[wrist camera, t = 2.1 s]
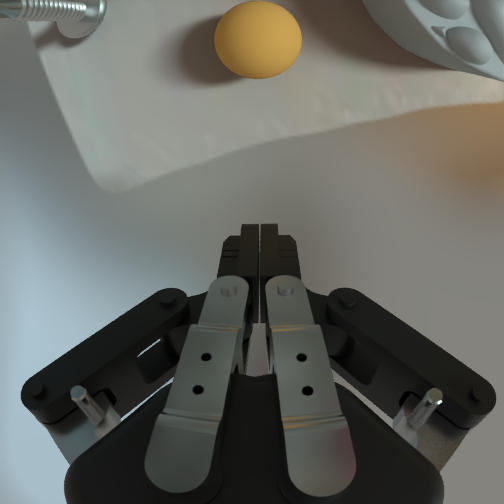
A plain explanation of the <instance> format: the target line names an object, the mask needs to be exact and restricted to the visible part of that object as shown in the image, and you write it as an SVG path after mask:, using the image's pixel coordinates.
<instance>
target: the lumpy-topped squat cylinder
mask: <svg viewBox="0 0 504 504" xmlns="http://www.w3.org/2000/svg"><path fill="white" fill-rule="evenodd" d="M362 2H363V4H364V6H365V8H366V10H367V11H368V13H369V15H370V16H371V18H372V19H373V20H374V21H375V22H376V24H377V25H378V26H379V27H380V28H381V29H382V30H383V31H384V32H385V33H386V34H387V35H388V36H389V37H390V38H391V39H392V40H393V41H394V42H395V43H396V44H397V45H399V46H400V47H401V48H403V49H405V50H407V51H409V52H411V53H413V54H415V55H417V56H419V57H421V58H423V59H426V60H428V61H430V62H433V63H435V64H438V65H441V66H444V67H447V68H450V69H453V70H457V71H462V72H467V73H471V74H475V75H479V76H484V77H487V78H492V79H496V80H499V81H503V82H504V0H362Z"/></svg>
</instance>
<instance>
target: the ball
mask: <svg viewBox="0 0 504 504" xmlns="http://www.w3.org/2000/svg"><path fill="white" fill-rule="evenodd" d="M214 45H215V49H216V52H217V55H218V57H219V58H220V60H221V61H222V63H223V64H224V65H225V66H226V67H227V68H228V69H230V70H231V71H232V72H234V73H236V74H238V75H240V76H243V77H246V78H252V79H265V78H270V77H273V76H276V75H278V74H281V73H282V72H284V71H285V70H287V69H288V68H289V67H290V66H291V65H292V64H293V63H294V62H295V60H296V59H297V57H298V55H299V52H300V50H301V45H302V36H301V31H300V28H299V25H298V23H297V22H296V20H295V19H294V17H293V16H292V15H291V14H290V13H289V12H288V11H287V10H285V9H284V8H282V7H281V6H279V5H276V4H274V3H271V2H266V1H249V2H245V3H242V4H239V5H237V6H235V7H233V8H232V9H230V10H229V11H228V12H226V13H225V14H224V16H223V17H222V18H221V19H220V21H219V23H218V25H217V27H216V30H215V35H214Z"/></svg>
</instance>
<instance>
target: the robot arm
mask: <svg viewBox="0 0 504 504" xmlns="http://www.w3.org/2000/svg"><path fill="white" fill-rule="evenodd" d="M260 235H261V236H260V252H259V224H242V227H241V235H240V236H229V237H228V238H227V239H226V240H225V241H224V242H223V248H222V253H221V258H220V264H219V269H218V274H217V279H216V280H214V281H213V282H212V283H211V284H210V287H209V289H208V291H207V292H205V293H202V294H199V295H195V296H191V297H187V295H186V293H185V292H184V291H182V290H180V289H177V288H166V289H162V290H160V291H158V292H156V293H154V294H153V295H151V296H150V297H148V298H147V299H145V300H144V301H142V302H141V303H139V304H138V305H136V306H135V307H133V308H132V309H130V310H129V311H127V312H126V313H124V314H123V315H121V316H120V317H118V318H117V319H116V320H114V321H112V322H111V323H110V324H108V325H106V326H105V327H103V328H102V329H101V330H99V331H98V332H96V333H95V334H93V335H92V336H90V337H89V338H87V339H86V340H84V341H83V342H81V343H80V344H79V345H77V346H75V347H74V348H73V349H71V350H70V351H68V352H67V353H65V354H64V355H62V356H61V357H59V358H58V359H57V360H55V361H54V362H52V363H51V364H49V365H48V366H47V367H45V368H43V369H42V370H41V371H39V372H38V373H36V374H35V375H33V376H32V377H30V378H29V379H28V380H27V381H26V382H25V384H24V385H23V387H22V390H21V400H22V403H23V404H24V406H25V407H26V408H27V409H28V410H29V411H30V412H31V413H32V414H33V415H34V416H35V417H36V419H37V420H38V421H39V422H40V423H41V424H42V425H43V426H44V427H45V428H46V429H47V430H48V431H49V433H50V435H51V436H52V438H53V439H54V441H55V443H56V444H57V446H58V448H59V449H60V451H61V452H62V454H63V455H64V457H65V459H66V460H67V462H68V463H69V464H70V467H69V469H68V471H67V473H66V476H65V481H64V493H65V498H66V502H67V504H443V499H444V484H443V480H442V477H441V475H440V473H439V472H440V471H441V470H442V468H443V467H444V466H445V464H446V463H447V462H448V460H449V459H450V458H451V456H452V455H453V453H454V452H455V451H456V449H457V448H458V446H459V445H460V443H461V442H462V440H463V439H464V437H465V436H466V435H467V434H468V433H469V432H470V431H471V430H472V429H473V428H474V427H476V426H477V425H478V424H479V423H480V422H481V421H482V419H484V418H485V417H486V416H487V415H488V414H489V413H490V412H491V411H492V409H493V408H494V406H495V403H496V393H495V390H494V388H493V387H492V385H491V384H490V383H489V382H488V381H487V380H485V379H484V378H483V377H481V376H480V375H479V374H477V373H476V372H474V371H473V370H471V369H470V368H469V367H467V366H466V365H465V364H463V363H462V362H460V361H459V360H458V359H456V358H455V357H453V356H452V355H450V354H449V353H448V352H446V351H445V350H443V349H442V348H441V347H439V346H438V345H436V344H435V343H433V342H432V341H431V340H429V339H428V338H426V337H425V336H423V335H422V334H421V333H419V332H418V331H416V330H415V329H413V328H412V327H410V326H409V325H407V324H406V323H405V322H403V321H402V320H400V319H399V318H397V317H396V316H394V315H393V314H392V313H390V312H389V311H387V310H386V309H384V308H383V307H381V306H380V305H378V304H377V303H375V302H374V301H372V300H371V299H369V298H368V297H366V296H365V295H364V294H362V293H360V292H359V291H357V290H355V289H351V288H338V289H335V290H333V291H332V292H331V293H330V294H329V295H328V296H325V295H320V294H316V293H314V292H312V291H310V290H308V289H307V288H306V287H305V285H304V283H303V282H302V280H301V273H300V266H299V259H298V252H297V246H296V241H295V240H294V239H293V238H292V237H291V236H290V235H278V224H261V234H260ZM259 274H260V314H261V323H266V350H267V360H268V371H269V374H267V375H262V376H257V377H252V376H247V375H246V372H247V366H248V359H249V352H250V345H251V334H252V330H253V323H258V319H259V318H258V317H259ZM158 339H160V341H159V342H158V343H156V344H155V345H153V346H152V347H151V348H149V349H148V350H147V351H145V352H144V353H143V354H141V355H140V356H139V357H138V355H139V354H140V353H141V352H142V351H144V350H145V349H146V348H148V347H149V346H150V345H152V344H153V343H154V342H156V341H157V340H158ZM331 368H332V369H333V370H334V371H335V372H336V373H338V374H339V375H340V376H341V377H342V378H344V379H345V380H346V381H347V382H348V383H350V384H351V385H352V386H353V387H354V388H355V389H357V390H358V391H359V392H360V393H361V394H363V395H364V396H365V397H366V398H367V399H369V400H370V401H371V402H372V403H373V404H375V405H376V406H377V407H378V408H379V409H381V410H382V411H383V412H384V413H386V414H387V415H388V416H389V417H390V418H392V419H393V429H392V428H391V427H390V426H389V425H388V424H387V423H386V422H384V421H383V420H382V419H381V418H380V417H379V416H378V415H377V414H375V413H374V412H373V411H372V410H371V409H370V408H369V407H368V406H367V405H365V404H364V403H363V402H362V401H361V400H360V399H359V398H358V397H357V396H355V395H354V394H353V393H352V392H351V391H350V390H348V389H347V388H345V387H344V386H342V385H340V384H338V383H336V382H334V379H333V374H332V370H331ZM172 377H174V379H173V382H172V383H170V384H168V385H166V386H165V387H163V388H162V389H160V390H159V391H158V392H156V393H155V394H154V395H153V396H152V397H150V398H149V399H148V400H147V401H146V402H145V403H143V404H142V405H141V406H140V407H139V408H137V409H136V410H135V411H134V412H133V413H131V414H130V415H129V416H128V417H127V418H125V419H124V420H123V421H122V422H121V418H122V417H123V416H124V415H126V414H127V413H128V412H130V411H131V410H132V409H133V408H135V407H136V406H137V405H138V404H140V403H141V402H142V401H144V400H145V399H146V398H148V397H149V396H150V395H151V394H153V393H154V392H155V391H156V390H157V389H159V388H160V387H161V386H163V385H164V384H165V383H166V382H168V381H169V380H170V379H171V378H172Z"/></svg>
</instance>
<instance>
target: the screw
mask: <svg viewBox="0 0 504 504" xmlns="http://www.w3.org/2000/svg"><path fill="white" fill-rule="evenodd" d="M106 10H107V1H106V0H0V18H10V19H11V20H13V21H19V22H21V21H56V23H57V27H58V29H59V31H60V32H61V33H62V34H63V35H64V36H66V37H68V38H82V37H85V36H87V35H89V34H91V33H92V32H93V31H95V29H96V28H97V27H98V26H99V25H100V24H101V22H102V21H103V18H104V16H105V13H106Z"/></svg>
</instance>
